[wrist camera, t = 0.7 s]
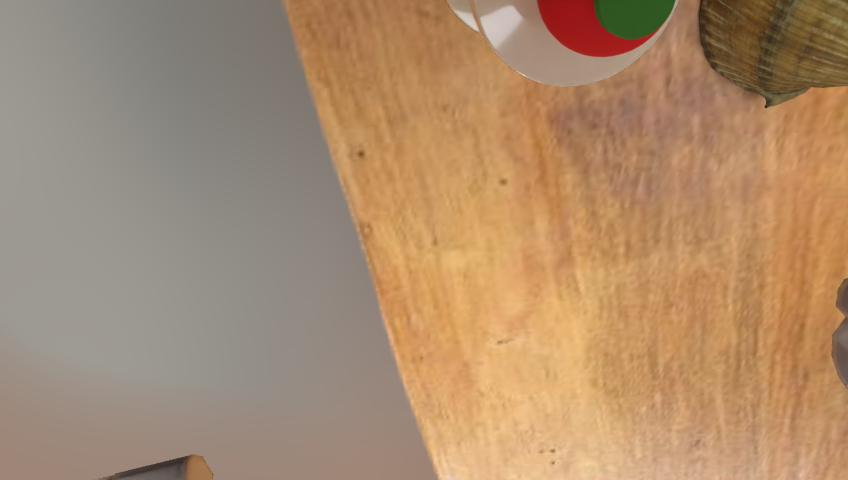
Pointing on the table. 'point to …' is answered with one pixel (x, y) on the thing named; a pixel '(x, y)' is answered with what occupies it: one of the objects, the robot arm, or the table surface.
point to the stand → (539, 43)
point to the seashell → (777, 44)
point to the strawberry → (604, 23)
